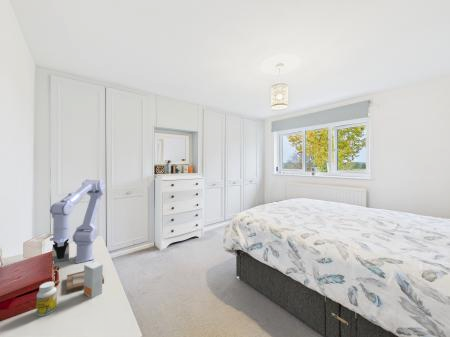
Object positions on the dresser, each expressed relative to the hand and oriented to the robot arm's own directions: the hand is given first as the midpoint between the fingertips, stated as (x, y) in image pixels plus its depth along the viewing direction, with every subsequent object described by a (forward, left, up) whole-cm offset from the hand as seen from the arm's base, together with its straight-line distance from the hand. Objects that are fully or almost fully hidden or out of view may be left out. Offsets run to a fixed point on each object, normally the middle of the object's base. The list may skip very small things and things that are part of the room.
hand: (60, 256), depth 94 cm
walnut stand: (+12, +9, -9) cm, 17 cm away
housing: (0, 0, -2) cm, 2 cm away
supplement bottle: (+26, -3, -9) cm, 28 cm away
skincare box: (+24, +11, -9) cm, 28 cm away
